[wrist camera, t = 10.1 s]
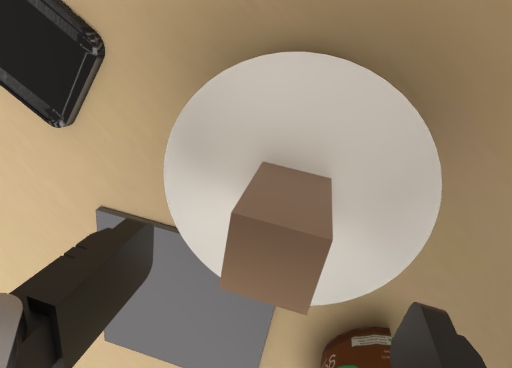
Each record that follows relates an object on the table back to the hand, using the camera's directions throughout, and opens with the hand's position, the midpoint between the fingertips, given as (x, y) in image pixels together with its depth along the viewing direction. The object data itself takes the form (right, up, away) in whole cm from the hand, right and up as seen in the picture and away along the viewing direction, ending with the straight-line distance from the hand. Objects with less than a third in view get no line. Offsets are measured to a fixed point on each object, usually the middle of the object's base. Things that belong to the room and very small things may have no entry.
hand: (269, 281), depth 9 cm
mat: (-7, -8, +18) cm, 21 cm away
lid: (+1, +3, +6) cm, 7 cm away
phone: (-18, +15, +12) cm, 26 cm away
